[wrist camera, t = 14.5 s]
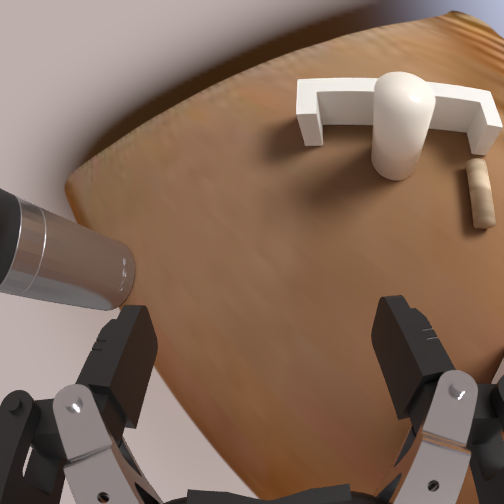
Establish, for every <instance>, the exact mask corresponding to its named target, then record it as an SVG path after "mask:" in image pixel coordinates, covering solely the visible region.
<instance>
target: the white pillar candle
mask: <svg viewBox="0 0 504 504" xmlns="http://www.w3.org/2000/svg"><path fill="white" fill-rule="evenodd" d="M435 102H436V99H435V95H434V92H433V90H432V89H431V87H430V86H429V85H428V84H427V83H426V82H425V81H424V80H422V79H421V78H419V77H417V76H415V75H413V74H409V73H405V72H390V73H387V74H384V75H383V76H381V77H380V78H379V79H378V80H377V81H376V83H375V86H374V116H373V137H372V153H371V161H372V164H373V167H374V168H375V170H376V171H377V172H378V173H379V174H380V175H381V176H383V177H385V178H387V179H389V180H394V181H400V180H404V179H407V178H409V177H410V176H411V175H412V174H413V173H414V171H415V169H416V166H417V163H418V160H419V157H420V154H421V151H422V148H423V145H424V141H425V138H426V135H427V132H428V128H429V125H430V121H431V118H432V114H433V111H434V107H435Z"/></svg>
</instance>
